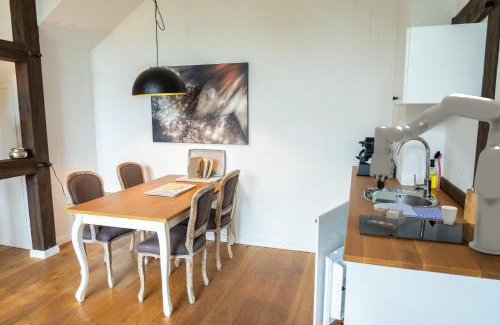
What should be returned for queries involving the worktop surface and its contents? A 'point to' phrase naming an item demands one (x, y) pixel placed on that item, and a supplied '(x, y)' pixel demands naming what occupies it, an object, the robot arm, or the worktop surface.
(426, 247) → the worktop surface
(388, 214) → the ivory key
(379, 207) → the sage key
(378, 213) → the terracotta key
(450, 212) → the cup
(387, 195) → the l-shaped corner panel
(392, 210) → the slate key
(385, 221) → the keypad board
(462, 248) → the worktop surface
